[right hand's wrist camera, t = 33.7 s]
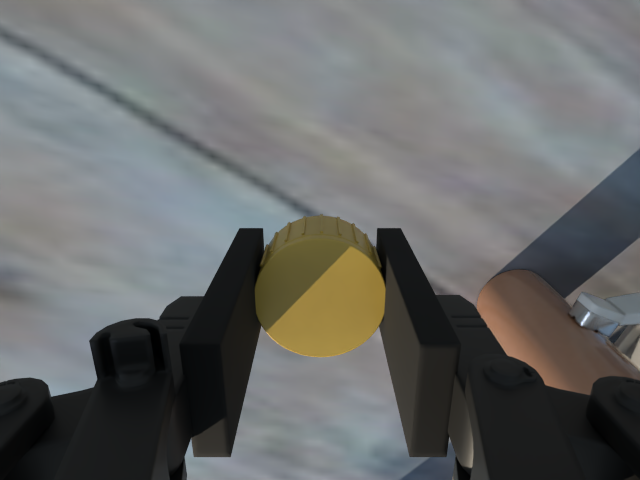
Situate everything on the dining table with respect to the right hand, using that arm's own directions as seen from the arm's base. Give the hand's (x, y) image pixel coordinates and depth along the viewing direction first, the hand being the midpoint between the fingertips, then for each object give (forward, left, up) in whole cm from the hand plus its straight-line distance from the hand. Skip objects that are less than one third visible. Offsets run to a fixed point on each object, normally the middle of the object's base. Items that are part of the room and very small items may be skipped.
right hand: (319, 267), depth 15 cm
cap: (0, 0, +2) cm, 2 cm away
